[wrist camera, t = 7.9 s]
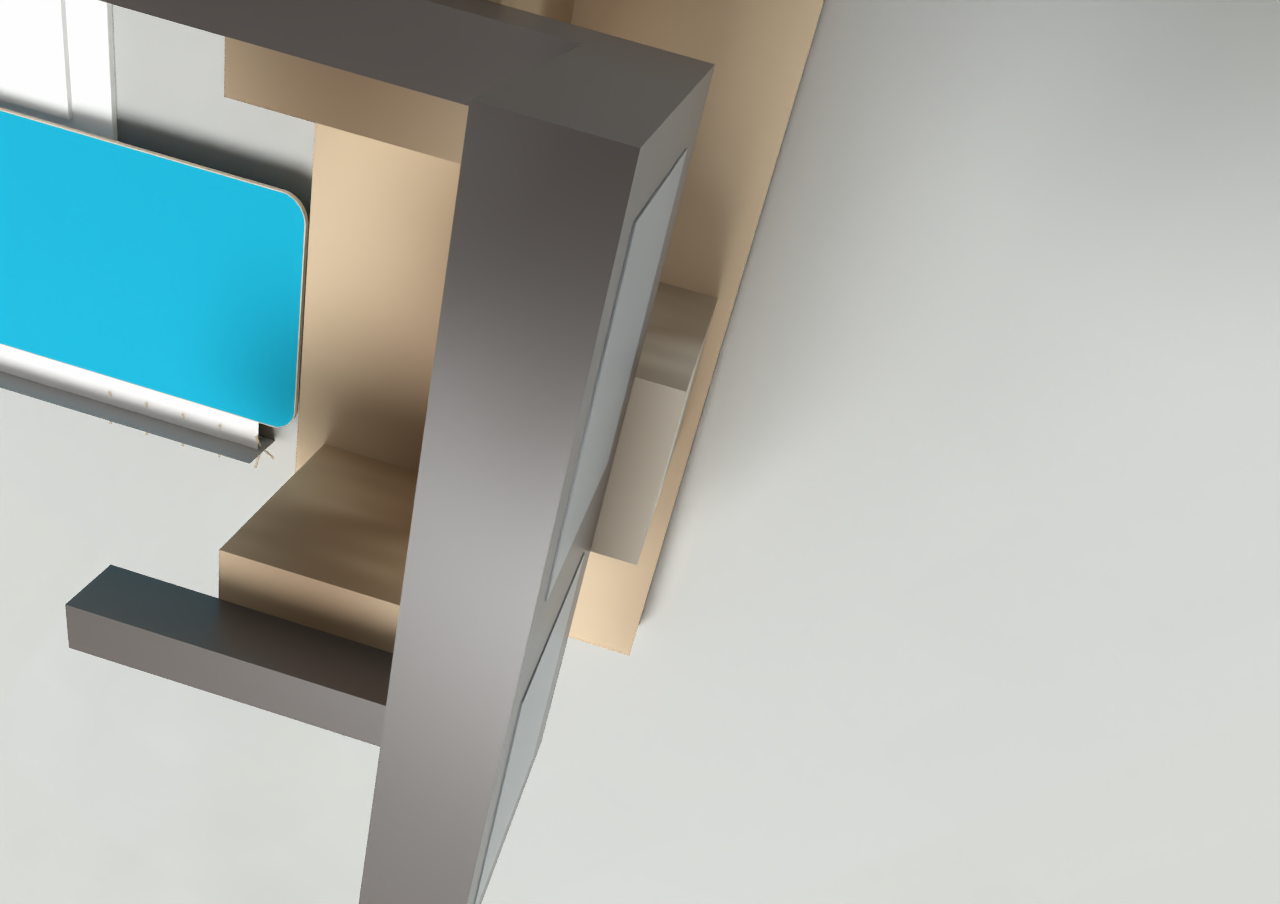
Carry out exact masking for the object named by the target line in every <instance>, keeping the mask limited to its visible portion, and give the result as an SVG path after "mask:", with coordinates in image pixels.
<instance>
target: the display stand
mask: <svg viewBox="0 0 1280 904" xmlns="http://www.w3.org/2000/svg"><path fill="white" fill-rule="evenodd" d="M488 1H491V2H495V3H498V4H502V5H505V6H509V7H513V8H516V9H520V10H523V11H527V12H530V13H534V14H537V15H541V16H545V17H548V18H552V19H555V20H559V21H562V22H566V23H570V24H573V25H577V26H580V27H584V28H587V29H591V30H594V31H598V32H602V33H605V34H609V35H612V36H616V37H619V38H623V39H627V40H630V41H634V42H637V43H641V44H644V45H648V46H652V47H655V48H659V49H662V50H666V51H669V52H673V53H676V54H680V55H684V56H687V57H691V58H694V59H698V60H701V61H705V62H709V63H712V64H715V67H714V71H713V75H712V79H711V83H710V87H709V90H708V94H707V98H706V102H705V106H704V110H703V114H702V118H701V122H700V125H699V129H698V133H697V137H696V141H695V145H694V149H693V153H692V157H691V161H690V164H689V168H688V172H687V176H686V180H685V184H684V188H683V192H682V196H681V199H680V203H679V207H678V211H677V215H676V219H675V223H674V227H673V231H672V235H671V238H670V242H669V246H668V250H667V254H666V258H665V262H664V266H663V270H662V273H661V277H660V281H659V285H658V289H657V293H656V297H655V301H654V305H653V308H652V312H651V316H650V320H649V324H648V328H647V332H646V336H645V340H644V344H643V347H642V351H641V355H640V359H639V363H638V367H637V371H636V375H635V379H634V382H633V386H632V390H631V394H630V398H629V402H628V406H627V410H626V414H625V418H624V421H623V425H622V429H621V433H620V437H619V441H618V445H617V449H616V453H615V456H614V460H613V464H612V468H611V472H610V476H609V480H608V484H607V488H606V492H605V495H604V499H603V503H602V507H601V511H600V515H599V519H598V523H597V527H596V530H595V534H594V538H593V542H592V546H591V550H590V554H589V558H588V562H587V565H586V569H585V573H584V577H583V581H582V585H581V589H580V593H579V597H578V601H577V604H576V608H575V612H574V616H573V620H572V624H571V628H570V632H569V636H568V637H570V638H573V639H577V640H580V641H583V642H586V643H590V644H593V645H596V646H599V647H603V648H606V649H609V650H612V651H616V652H619V653H622V654H625V655H630V651H631V648H632V645H633V641H634V638H635V635H636V631H637V628H638V625H639V621H640V618H641V615H642V611H643V608H644V604H645V601H646V598H647V594H648V591H649V588H650V584H651V581H652V578H653V574H654V571H655V567H656V564H657V561H658V557H659V554H660V551H661V547H662V544H663V541H664V537H665V534H666V530H667V527H668V524H669V520H670V517H671V514H672V510H673V507H674V504H675V500H676V497H677V494H678V490H679V487H680V483H681V480H682V477H683V473H684V470H685V467H686V463H687V460H688V457H689V453H690V450H691V446H692V443H693V440H694V436H695V433H696V430H697V426H698V423H699V420H700V416H701V413H702V410H703V406H704V403H705V399H706V396H707V393H708V389H709V386H710V383H711V379H712V376H713V373H714V369H715V366H716V362H717V359H718V356H719V352H720V349H721V346H722V342H723V339H724V336H725V332H726V329H727V325H728V322H729V319H730V315H731V312H732V309H733V305H734V302H735V299H736V295H737V292H738V289H739V285H740V282H741V278H742V275H743V272H744V268H745V265H746V262H747V258H748V255H749V252H750V248H751V245H752V241H753V238H754V235H755V231H756V228H757V225H758V221H759V218H760V215H761V211H762V208H763V204H764V201H765V198H766V194H767V191H768V188H769V184H770V181H771V178H772V174H773V171H774V168H775V164H776V161H777V157H778V154H779V151H780V147H781V144H782V141H783V137H784V134H785V131H786V127H787V124H788V120H789V117H790V114H791V110H792V107H793V104H794V100H795V97H796V94H797V90H798V87H799V83H800V80H801V77H802V73H803V70H804V67H805V63H806V60H807V57H808V53H809V50H810V47H811V43H812V40H813V36H814V33H815V30H816V26H817V23H818V20H819V16H820V13H821V10H822V6H823V3H824V0H488ZM224 97H227V98H230V99H234V100H237V101H241V102H244V103H248V104H251V105H255V106H258V107H262V108H265V109H269V110H272V111H276V112H279V113H283V114H286V115H290V116H293V117H297V118H300V119H304V120H307V121H311V122H315V138H314V155H313V173H312V190H311V207H310V225H309V242H308V259H307V277H306V294H305V312H304V329H303V346H302V364H301V381H300V399H299V416H298V433H297V451H296V468H295V474H294V475H293V476H292V477H291V478H290V479H289V480H288V481H287V482H286V483H285V484H284V485H283V486H282V487H281V488H280V489H279V490H278V491H277V492H276V493H275V494H274V495H273V496H272V497H271V498H270V499H269V500H268V501H267V502H266V503H265V504H264V505H263V506H262V507H261V508H260V509H259V510H258V511H257V512H256V513H255V514H254V515H253V516H252V517H251V518H250V519H249V520H248V521H247V522H246V523H245V524H244V525H243V526H242V527H241V528H240V529H239V531H238V532H237V533H236V534H235V535H234V536H233V537H232V538H231V539H230V540H229V541H228V542H227V543H226V544H225V545H224V546H223V547H222V548H221V549H220V550H219V599H221V600H225V601H228V602H231V603H234V604H237V605H241V606H244V607H247V608H250V609H253V610H257V611H260V612H263V613H266V614H269V615H272V616H276V617H279V618H282V619H285V620H288V621H292V622H295V623H298V624H301V625H304V626H308V627H311V628H314V629H317V630H320V631H323V632H327V633H330V634H333V635H336V636H339V637H343V638H346V639H349V640H352V641H355V642H358V643H362V644H365V645H368V646H371V647H374V648H378V649H381V650H384V651H387V652H390V653H393V652H394V645H395V638H396V631H397V623H398V616H399V609H400V602H401V594H402V587H403V580H404V573H405V565H406V558H407V551H408V544H409V536H410V529H411V522H412V515H413V507H414V500H415V493H416V486H417V478H418V471H419V464H420V457H421V449H422V442H423V435H424V428H425V420H426V413H427V406H428V399H429V391H430V384H431V377H432V370H433V362H434V355H435V348H436V341H437V333H438V326H439V319H440V312H441V304H442V297H443V290H444V283H445V275H446V268H447V261H448V254H449V246H450V239H451V232H452V225H453V217H454V210H455V203H456V196H457V188H458V181H459V174H460V167H461V159H462V152H463V145H464V138H465V130H466V123H467V116H468V109H469V106H467V105H463V104H460V103H456V102H453V101H449V100H446V99H442V98H439V97H435V96H432V95H428V94H425V93H421V92H418V91H414V90H411V89H407V88H404V87H400V86H397V85H393V84H390V83H386V82H383V81H379V80H376V79H372V78H369V77H365V76H362V75H358V74H355V73H351V72H348V71H344V70H341V69H337V68H334V67H330V66H327V65H323V64H320V63H316V62H313V61H309V60H306V59H302V58H299V57H295V56H292V55H288V54H285V53H281V52H278V51H274V50H271V49H267V48H264V47H260V46H257V45H253V44H250V43H247V42H243V41H240V40H236V39H233V38H229V37H226V36H225V78H224Z"/></svg>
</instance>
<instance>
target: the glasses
mask: <svg viewBox="0 0 1280 904" xmlns="http://www.w3.org/2000/svg"><path fill="white" fill-rule="evenodd" d="M100 1H103V2H107V3H110V4H114V5H117V6H121V7H124V8H128V9H131V10H135V11H138V12H142V13H145V14H149V15H152V16H156V17H159V18H163V19H166V20H170V21H173V22H177V23H180V24H184V25H187V26H191V27H194V28H198V29H201V30H205V31H208V32H212V33H215V34H219V35H222V36H226V37H229V38H233V39H236V40H240V41H243V42H247V43H250V44H253V45H257V46H260V47H264V48H267V49H271V50H274V51H278V52H281V53H285V54H288V55H292V56H295V57H299V58H302V59H306V60H309V61H313V62H316V63H320V64H323V65H327V66H330V67H334V68H337V69H341V70H344V71H348V72H351V73H355V74H358V75H362V76H365V77H369V78H372V79H376V80H379V81H383V82H386V83H390V84H393V85H397V86H400V87H404V88H407V89H411V90H414V91H418V92H421V93H425V94H428V95H432V96H435V97H439V98H442V99H446V100H449V101H453V102H456V103H460V104H463V105H467V106H469V109H468V116H467V123H466V130H465V138H464V145H463V152H462V159H461V167H460V174H459V181H458V188H457V196H456V203H455V210H454V217H453V225H452V232H451V239H450V246H449V254H448V261H447V268H446V275H445V283H444V290H443V297H442V304H441V312H440V319H439V326H438V333H437V341H436V348H435V355H434V362H433V370H432V377H431V384H430V391H429V399H428V406H427V413H426V420H425V428H424V435H423V442H422V449H421V457H420V464H419V471H418V478H417V486H416V493H415V500H414V507H413V515H412V522H411V529H410V536H409V544H408V551H407V558H406V565H405V573H404V580H403V587H402V594H401V602H400V609H399V616H398V623H397V631H396V638H395V645H394V652H393V653H390V652H387V651H384V650H381V649H378V648H374V647H371V646H368V645H365V644H362V643H358V642H355V641H352V640H349V639H346V638H343V637H339V636H336V635H333V634H330V633H327V632H323V631H320V630H317V629H314V628H311V627H308V626H304V625H301V624H298V623H295V622H292V621H288V620H285V619H282V618H279V617H276V616H272V615H269V614H266V613H263V612H260V611H257V610H253V609H250V608H247V607H244V606H241V605H237V604H234V603H231V602H228V601H225V600H221V599H218V598H215V597H212V596H209V595H206V594H202V593H199V592H196V591H193V590H190V589H186V588H183V587H180V586H177V585H174V584H171V583H167V582H164V581H161V580H158V579H155V578H151V577H148V576H145V575H142V574H139V573H135V572H132V571H129V570H126V569H123V568H120V567H116V566H113V565H110V566H109V567H108V568H106V569H105V570H104V571H103V572H102V573H101V574H100V575H98V576H97V577H96V578H95V579H94V580H93V581H92V582H91V583H89V584H88V585H87V586H86V587H85V588H84V589H83V590H81V591H80V592H79V593H78V594H77V595H76V596H75V597H73V598H72V599H71V600H70V601H69V602H68V603H67V604H66V605H65V606H66V617H67V629H68V640H69V648H72V649H75V650H78V651H82V652H85V653H88V654H91V655H94V656H97V657H100V658H103V659H107V660H110V661H113V662H116V663H119V664H122V665H125V666H129V667H132V668H135V669H138V670H141V671H144V672H147V673H151V674H154V675H157V676H160V677H163V678H166V679H169V680H173V681H176V682H179V683H182V684H185V685H188V686H191V687H194V688H198V689H201V690H204V691H207V692H210V693H213V694H216V695H220V696H223V697H226V698H229V699H232V700H235V701H238V702H242V703H245V704H248V705H251V706H254V707H257V708H260V709H264V710H267V711H270V712H273V713H276V714H279V715H282V716H286V717H289V718H292V719H295V720H298V721H301V722H304V723H307V724H311V725H314V726H317V727H320V728H323V729H326V730H329V731H333V732H336V733H339V734H342V735H345V736H348V737H351V738H355V739H358V740H361V741H364V742H367V743H370V744H373V745H377V746H380V754H379V761H378V768H377V775H376V783H375V790H374V797H373V804H372V812H371V819H370V826H369V833H368V841H367V848H366V855H365V862H364V870H363V877H362V884H361V891H360V899H359V904H481V903H482V900H483V897H484V894H485V892H486V889H487V886H488V884H489V881H490V878H491V876H492V873H493V870H494V868H495V865H496V862H497V859H498V857H499V854H500V851H501V849H502V846H503V843H504V841H505V838H506V835H507V833H508V830H509V827H510V824H511V822H512V819H513V816H514V814H515V811H516V808H517V806H518V803H519V800H520V798H521V795H522V792H523V789H524V787H525V784H526V781H527V779H528V776H529V773H530V771H531V768H532V765H533V763H534V760H535V757H536V754H537V752H538V749H539V746H540V744H541V741H542V737H543V733H544V729H545V725H546V721H547V717H548V713H549V710H550V706H551V702H552V698H553V694H554V690H555V686H556V682H557V678H558V675H559V671H560V667H561V663H562V659H563V655H564V651H565V647H566V643H567V639H568V636H569V632H570V628H571V624H572V620H573V616H574V612H575V608H576V604H577V601H578V597H579V593H580V589H581V585H582V581H583V577H584V573H585V569H586V565H587V562H588V558H589V554H590V550H591V546H592V542H593V538H594V534H595V530H596V527H597V523H598V519H599V515H600V511H601V507H602V503H603V499H604V495H605V492H606V488H607V484H608V480H609V476H610V472H611V468H612V464H613V460H614V456H615V453H616V449H617V445H618V441H619V437H620V433H621V429H622V425H623V421H624V418H625V414H626V410H627V406H628V402H629V398H630V394H631V390H632V386H633V382H634V379H635V375H636V371H637V367H638V363H639V359H640V355H641V351H642V347H643V344H644V340H645V336H646V332H647V328H648V324H649V320H650V316H651V312H652V308H653V305H654V301H655V297H656V293H657V289H658V285H659V281H660V277H661V273H662V270H663V266H664V262H665V258H666V254H667V250H668V246H669V242H670V238H671V235H672V231H673V227H674V223H675V219H676V215H677V211H678V207H679V203H680V199H681V196H682V192H683V188H684V184H685V180H686V176H687V172H688V168H689V164H690V161H691V157H692V153H693V149H694V145H695V141H696V137H697V133H698V129H699V125H700V122H701V118H702V114H703V110H704V106H705V102H706V98H707V94H708V90H709V87H710V83H711V79H712V75H713V71H714V67H715V64H712V63H709V62H705V61H701V60H698V59H694V58H691V57H687V56H684V55H680V54H676V53H673V52H669V51H666V50H662V49H659V48H655V47H652V46H648V45H644V44H641V43H637V42H634V41H630V40H627V39H623V38H619V37H616V36H612V35H609V34H605V33H602V32H598V31H594V30H591V29H587V28H584V27H580V26H577V25H573V24H570V23H566V22H562V21H559V20H555V19H552V18H548V17H545V16H541V15H537V14H534V13H530V12H527V11H523V10H520V9H516V8H513V7H509V6H505V5H502V4H498V3H495V2H491V1H488V0H100Z"/></svg>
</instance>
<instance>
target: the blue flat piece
mask: <svg viewBox="0 0 1280 904" xmlns="http://www.w3.org/2000/svg"><path fill="white" fill-rule="evenodd" d="M308 242H309V221H308V216H307V213H306V210H305V208H304V206H303V204H302V203H301V201H300V200H299V199H298V198H297V197H296V196H295V195H293V194H292V193H291V192H289V191H287V190H284V189H280V188H277V187H273V186H270V185H266V184H263V183H260V182H256V181H253V180H249V179H246V178H242V177H239V176H235V175H232V174H229V173H225V172H222V171H218V170H215V169H211V168H208V167H205V166H201V165H198V164H194V163H191V162H187V161H184V160H180V159H177V158H174V157H170V156H167V155H163V154H160V153H156V152H153V151H149V150H146V149H143V148H139V147H136V146H132V145H129V144H125V143H122V142H118V133H117V109H116V85H115V61H114V38H113V14H112V4H110V3H107V2H103V1H100V0H0V387H1V388H4V389H7V390H10V391H14V392H17V393H20V394H24V395H27V396H30V397H33V398H37V399H40V400H43V401H46V402H50V403H53V404H56V405H60V406H63V407H66V408H69V409H73V410H76V411H79V412H82V413H86V414H89V415H92V416H96V417H99V418H102V419H105V420H109V421H110V423H109V424H112V422H115V423H119V424H122V425H125V426H128V427H132V428H135V429H138V430H141V431H145V432H146V434H145V435H148V433H151V434H155V435H158V436H161V437H164V438H168V439H171V440H174V441H177V442H181V443H182V445H181V446H184V444H187V445H191V446H194V447H197V448H200V449H204V450H207V451H210V452H214V453H217V454H218V457H220V455H223V456H227V457H230V458H233V459H236V460H240V461H243V462H246V463H251V462H252V461H253V460H254V459H255V458H256V457H257V459H256V463H255V466H254V468H256V467H257V464H258V460H259V457H260V454H261V453H262V452H263V451H264V452H265V453H266V454H268V455H269V456H270V457H271V458H272V459H274V457H273V456H272V455H271V454H270V453H269V452H267V451H266V450H265V449H266V448H267V447H268V446H270V445H271V444H272V443H273V442H274V441H275V440H271V439H268V438H265V437H261V436H258V427H259V423H261V424H265V425H268V426H271V427H284V426H286V425H288V424H289V423H290V422H292V421H293V420H294V418H295V417H296V414H297V412H298V398H299V380H300V363H301V353H302V346H303V329H304V312H305V294H306V277H307V259H308Z"/></svg>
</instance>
